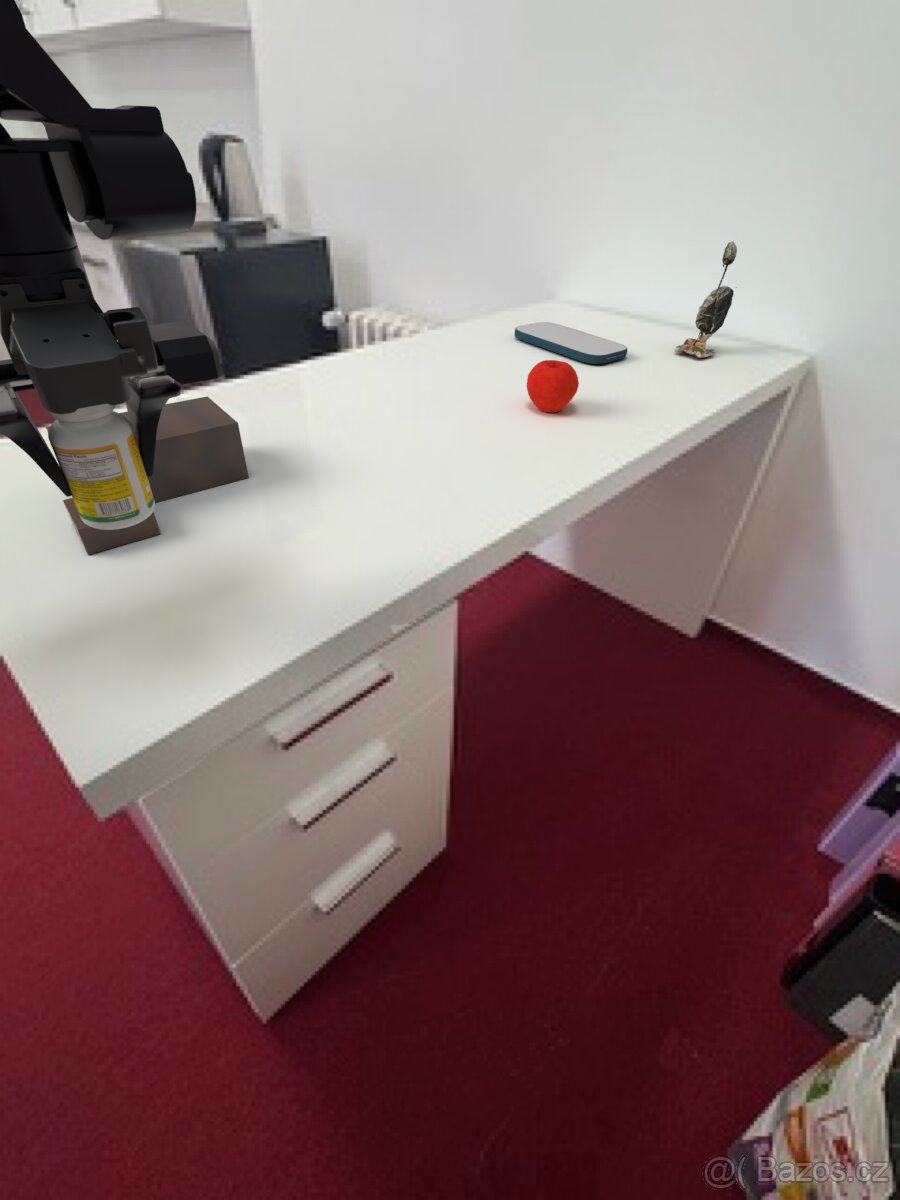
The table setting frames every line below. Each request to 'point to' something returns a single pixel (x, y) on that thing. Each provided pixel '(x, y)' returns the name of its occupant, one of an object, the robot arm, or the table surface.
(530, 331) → the external hard drive
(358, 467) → the table surface
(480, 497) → the table surface
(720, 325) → the plant with pod
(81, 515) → the supplement bottle
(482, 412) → the table surface
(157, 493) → the step shelf
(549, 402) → the apple
